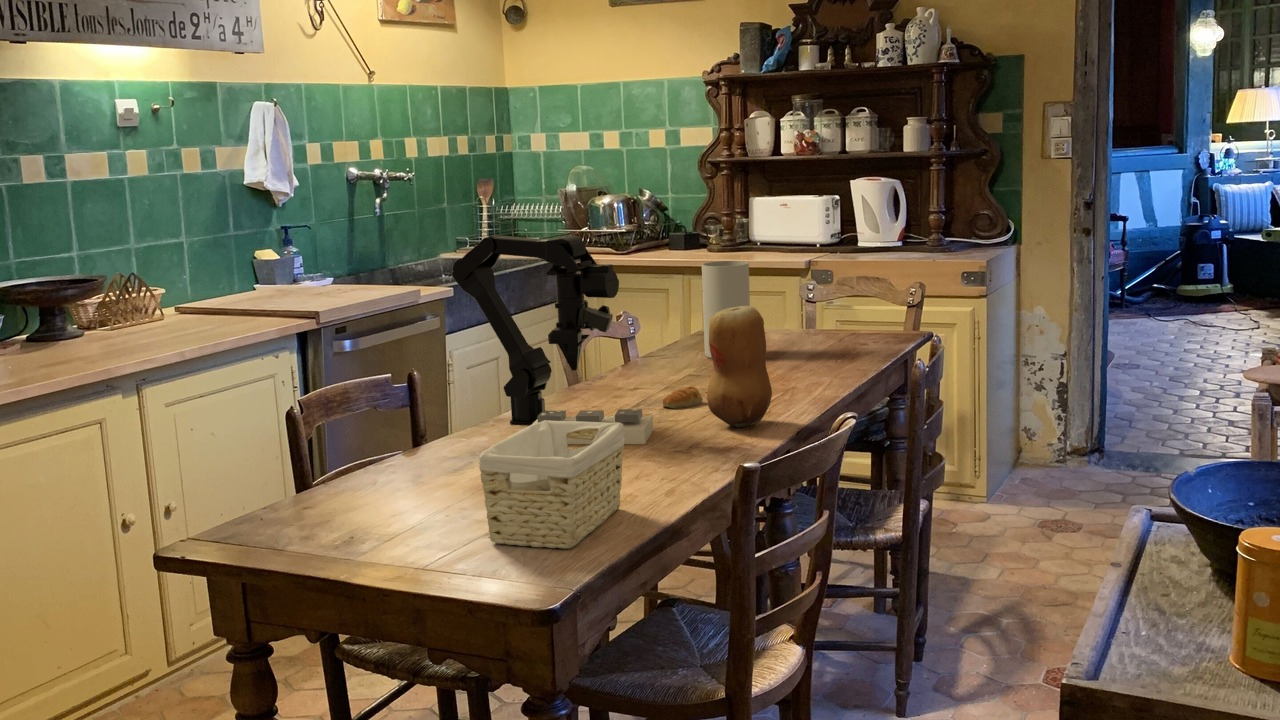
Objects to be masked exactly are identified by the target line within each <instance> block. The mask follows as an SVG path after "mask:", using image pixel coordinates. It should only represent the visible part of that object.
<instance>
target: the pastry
mask: <svg viewBox="0 0 1280 720" xmlns="http://www.w3.org/2000/svg"><path fill="white" fill-rule="evenodd" d="M703 399H704V398H703V397H702V394H701V393H700V392H699V389H698V388H697V387H695V386H685V387H684V388H679V389H674V390H673V391H672V392H671V393H670V394H667V395H666V396H665V397H664V398H663V399H662V407H665V408H669V409H670V408H671V409H675V410H676V409H682V408H688V407H692V406H697V405H700V404H702V401H703Z"/></svg>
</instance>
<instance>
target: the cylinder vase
mask: <svg viewBox="0 0 1280 720" xmlns="http://www.w3.org/2000/svg"><path fill="white" fill-rule="evenodd" d="M749 264H750V262H748V261H745V260H716V261H709V262H704V263H701V279H702V280H701V282H702V285H701V287H702V309H703V311H702V312H703V315H702V316H703V341H704V344H703V345H704V347H703V348H704V355H705V356H706V357H707V358H708V359H711V360H712V357H711V353H710V347H709V325H710V320H711V318H712V317H713V316H714V315H715V314H716V313H717V312H720V311H722V310H724V309H727V308H732V307H740V306H751V296H750V295H751V294H750V267H749V266H750V265H749Z"/></svg>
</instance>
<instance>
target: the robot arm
mask: <svg viewBox="0 0 1280 720" xmlns="http://www.w3.org/2000/svg"><path fill="white" fill-rule="evenodd" d="M501 255H502V256H513V257H523V258H524V257H525V258H537V259H541V260H542V261H544V262H546V263H549V264H552V266H551V267H550V269H549V270H548V271H546V273H545V275H546V276H549V277H554V276H555V286H556V288H555V289H556V291H555V292H556V302H555V303H554V309H557V319H558V320H557V321H556V323H555V325H556V326H555V328H553V329H552V330H551V331H550V332H549V333H548V334H547V336H548V340H547V341H548V345H558V347H559V349H560V351H561V352H562V355H563V356H564V359H565V360H566V361H567V362H566V363H568V366H569V368H570V370H571V371H577V370H578V369H579V364H580V358H581V357H580V356H581V352H582V347H583V343H584V342H585V341H586V340H587V339H588V338H589V337H590V334H584V331H583V330H586V329H587V330H588V329H589V330H590V331H594V330H598V331H599V332H602V333H606V332H607V331H609V330H610V327H611V324H612V321H613V320H614V318H613V317H614V315H613V313H611V312H610V307H609V306H607V305H604V304H603V305H600V307H599V308H598V309H597V308H592V307H589V301H587V299H585V298H586V297H587V298H595V299H596V298H597V299H598V298H599V299H614V298H616V296H617V295H618V292H619V289H620V287H619V286H620V280H619V278H618V275H617V273H616V272H615V271H614V266H613V264H604V265H600V264H599V265H598V263H597V262H596V260H595V259H594V258H593V256H592V255H591V253H590V252H589V251H588V249H587V247H586V244H585V242H584V240H583V239H582V237H580V236H578V235H569V236H568V235H567V236H560V237H554V238H553V237H552V238H548V239H547V238H546V239H545V238H532V237H521V236H520V237H519V236H511V235H510V236H509V235H502V234H494V235H493V234H492V235H487V236H485V237H483V238H482V239H481V241H480V242H479V243H477V245H476V246H475V247H473V248H471V250H469V251H468V252H467V253H466V254H465V255H463V257H462V258H459V259H457V260H455V262H454V264H453V266H452V271H451V275H452V278H453V279H454V281H455V282H456V284H458V286H459V287H460V288H461V290H462V291H463V292H465V293H466V294H468V295H469V296H471V298H473V299H474V300H475V301H476V303H477V305H478V306H479V308H480V310H481V312H483V314H484V317H485V318H486V319H487V321H488V323H489V325H490V327H491V328H492V330H493V331H494V333H495V335H496V337H497V338H498V340H499V342H500V343H501V345H502V348H503V349H504V350H505V352H506V354H507V356H508V370H509V372H510V374H511V376H512V377H511V378H510V379H509V380H508V381H507V382H506V383H505V385H504V386H503V390H504V391H503V392H504V393H505V395H506V397H509V398H510V409H511V410H510V412H511V420H510V421H509V424H513V425H514V424H515V425H517V424H521V425H523V424H527V425H529V424H530V425H532V424H533V423H534V422H535V421H536V420H537V416H538V415H539V414H540V413H541V412H542V411H546V404H545V398H544V397H543V396H542V395H543V394H542V391H544V390H546V387H547V383H548V381H550V378H551V375H552V367H551V365H550V364H551V363H552V362H551V360H549V358H548V357H547V356H546V354H545V352H544V349H543V348H542V347H541V346H538V347H536V348H534V347H532V346H531V345H530V344H529V342H527V340H526V338H525V337H524V335H523V333H522V331H521V330H520V328H519V326H518V325H517V323H516V321H515V320H514V318H513V317H512V315H511V313H510V311H509V310H508V308H507V306H506V304H505V303H504V301H503V299H502V298H501V296H500V294H499V293H498V291H497V289H496V281H495V280H496V279H495V278H496V277H495V274H494V271H493V268H494V267H495V266H496V264H497V263H498V261H499V259H500V257H501Z"/></svg>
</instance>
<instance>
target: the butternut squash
mask: <svg viewBox="0 0 1280 720" xmlns="http://www.w3.org/2000/svg"><path fill="white" fill-rule="evenodd" d="M764 321H765V320H764V318H763V317H762V314H761V313H760V311H759V310H758V309H757V308H756V307H753V306H751V305H750V306H740V307H732V308H727V309H724V310H722V311H720V312H717V313H716V314H715V315H714V316H713V317H712V318H711V320H710V325H709V347H710V353H711V357H712V359H711V360H712V363H713V372H712V374H711V377H710V379H709V382H708V385H707V391H706V399H707V407H708V409H709V410H710V412H711V413H712V414H713V415H714V416H715V417H716V418H718V419H719V420H721V421H723V422H724V423H725V424H726V425H729V426H731V427H734V428H741V427H744V428H745V427H749V425H750V426H752V425H755V424H758V423H760V422H761V420H762V419H763V418H764V416H765V415H766V413H767V411H768V409H769V407H770V404H771V401H772V398H773V397H772V395H773V390H772V389H773V388H772V385H771V381H770V376H769V373H768V370H767V363H766V362H767V361H766V357H767V356H766V355H767V341H766V340H767V339H766V332H765V322H764Z"/></svg>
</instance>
